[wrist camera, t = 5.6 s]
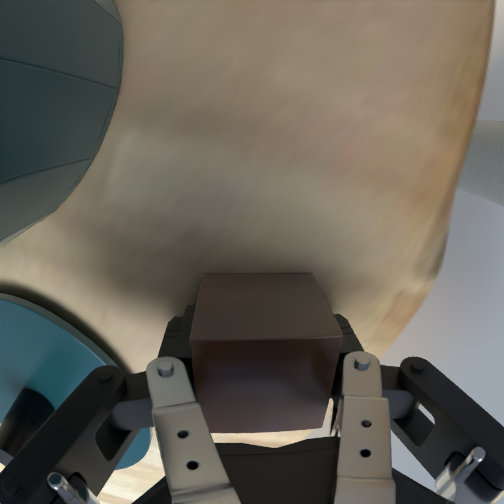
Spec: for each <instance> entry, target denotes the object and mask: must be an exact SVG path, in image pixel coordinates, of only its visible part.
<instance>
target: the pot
mask: <svg viewBox="0 0 504 504" xmlns="http://www.w3.org/2000/svg"><path fill="white" fill-rule="evenodd" d="M122 62H123V35H122V27H121V20H120V16H119V13H118V10H117V6H116V3H115V1H114V0H0V246H2V245H4V244H5V243H7V242H8V241H10V240H12V239H13V238H15V237H17V236H18V235H20V234H21V233H23V232H24V231H26V230H27V229H28V228H30V227H31V226H33V225H34V224H36V223H38V222H39V221H41V220H43V219H44V218H45V217H47V216H48V215H50V214H51V213H53V212H54V211H56V209H57V208H58V207H59V205H60V204H61V203H62V202H63V201H64V200H65V199H66V198H67V197H68V196H69V195H70V194H71V192H72V191H73V190H74V188H75V187H76V186H77V185H78V183H79V182H80V180H81V179H82V177H83V176H84V174H85V173H86V171H87V169H88V168H89V166H90V165H91V163H92V161H93V159H94V157H95V155H96V153H97V151H98V149H99V147H100V145H101V143H102V140H103V138H104V135H105V133H106V130H107V128H108V125H109V123H110V119H111V116H112V113H113V109H114V106H115V103H116V99H117V94H118V89H119V84H120V80H121V71H122Z"/></svg>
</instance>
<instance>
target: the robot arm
mask: <svg viewBox="0 0 504 504" xmlns="http://www.w3.org/2000/svg"><path fill="white" fill-rule="evenodd" d="M328 305H329V304H328ZM329 307H330V306H329ZM195 308H196V305H187V307H186V311H185V315H184V317H183V316H175V317H174V318H173V319H172V320H171V321H169V322H168V325H167V328H166V332H165V334H164V338H163V341H162V344H161V347H160V351H159V354H158V357H157V358H156V359H154V360H153V361H151V362H150V363H149V364H148V366H147V368H146V371H144V372H141V373H136V374H129V375H124V372H123V370H122V369H121V368H119V367H117V366H114V365H103V366H100V367H97V368H95V369H94V370H93V371H91V372H90V373H89V375H88V376H87V377H86V378H85V379H84V380H83V381H82V382H81V383H80V384H79V385H78V386H77V387H76V389H75V390H74V391H73V392H72V393H71V394H70V395H69V396H68V397H67V398H66V399H65V400H64V402H63V403H62V404H61V405H60V406H59V407H58V408H57V409H56V410H55V411H54V413H53V414H52V415H51V416H50V417H49V418H48V419H47V420H46V421H45V423H44V424H43V425H42V426H41V427H40V428H39V429H38V430H37V432H36V433H35V434H34V435H33V436H32V437H31V438H30V439H29V441H28V442H27V443H26V444H25V445H24V446H23V447H22V449H21V450H20V451H19V452H18V453H17V454H16V455H15V457H14V458H13V459H12V460H11V461H10V462H9V464H8V465H7V466H6V467H5V468H4V469H3V471H2V472H1V473H0V503H1V504H100V502H99V500H98V499H97V498H96V497H97V496H98V494H99V493H100V491H101V490H102V488H103V487H104V485H105V483H106V482H107V480H108V479H109V477H110V476H111V474H112V473H113V471H114V470H115V468H116V467H117V465H118V463H119V462H120V460H121V459H122V457H123V456H124V454H125V453H126V451H127V450H128V448H129V446H130V445H131V443H132V442H133V440H134V439H135V437H136V436H137V434H138V433H139V431H140V429H142V428H148V427H154V426H155V431H156V436H157V441H158V445H159V450H160V454H161V459H162V463H163V467H164V471H165V476H164V477H163V478H162V479H161V480H160V481H158V482H157V483H156V484H155V485H154V486H153V487H151V488H150V489H149V490H148V491H147V492H145V493H144V494H143V495H142V496H140V497H139V498H138V499H137V500H135V501H134V502H133V503H132V504H494V503H495V502H496V501H497V500H498V499H499V498H500V497H501V496H503V495H504V427H503V426H502V425H501V424H500V423H499V422H497V420H495V419H494V418H493V417H492V416H491V415H490V414H489V413H488V412H486V411H485V410H484V409H483V408H482V407H481V406H480V405H478V404H477V403H476V402H475V401H474V400H473V399H472V398H470V397H469V396H468V395H467V394H466V393H465V392H463V391H462V390H461V389H460V388H459V387H458V386H457V385H455V384H454V383H453V382H452V381H451V380H450V379H448V378H447V377H446V376H445V375H444V374H443V373H441V372H440V371H439V370H438V369H437V368H436V367H434V366H433V365H432V364H431V363H430V362H428V361H427V360H425V359H423V358H420V357H408V358H406V359H404V360H403V361H402V362H401V365H400V367H394V366H385V365H380V362H379V360H378V359H377V358H376V357H375V356H374V355H372V354H370V353H368V352H365V351H364V350H363V348H362V346H361V344H360V342H359V340H358V338H357V337H356V335H355V334H354V331H353V329H352V328H351V326H350V324H349V322H348V320H347V319H346V318H344V317H343V316H342V315H340V314H333V315H334V317H335V319H336V321H337V323H338V325H339V327H340V329H341V331H342V333H343V340H342V345H341V350H340V355H339V359H338V364H337V369H336V373H335V378H334V382H333V386H332V390H331V395H330V398H332V399H333V406H332V410H331V418H330V426H329V434H328V437H322V438H313V439H306V440H303V441H299V442H296V443H293V444H289V445H286V446H282V447H278V448H270V447H263V446H257V445H251V444H245V443H214V441H213V439H212V436H211V434H210V431H209V428H208V426H207V423H206V420H205V417H204V415H203V412H202V409H201V406H200V404H199V401H197V397H196V390H195V382H194V375H193V367H192V359H191V351H190V342H189V338H190V333H191V328H192V323H193V318H194V313H195ZM330 309H331V308H330ZM331 311H332V310H331ZM332 313H333V312H332ZM420 404H421V405H423V406H424V407H425V409H427V411H429V412H430V413H431V414H432V416H433V417H434V420H435V425H434V424H433V423H432V422H431V421H430V420H429V419H428V418H427V417H426V416H425V415H424V414H423V413H422V412H421V411H420V410H419V409H418V407H419V405H420ZM390 429H391V430H392V431H393V433H394V434H395V435H396V436H397V437H398V438H399V439H400V440H401V442H402V443H403V444H404V445H405V446H406V447H407V449H408V450H409V451H410V452H411V453H412V454H413V455H414V456H415V458H416V459H417V460H418V461H419V462H420V463H421V464H422V466H423V467H424V468H425V469H426V470H427V471H428V472H429V473H430V475H431V476H432V477H433V478H434V479H435V480H436V481H435V487H436V490H437V492H436V493H435V492H433V491H432V490H430V489H428V488H426V487H424V486H422V485H421V484H419V483H417V482H416V481H414V480H412V479H410V478H409V477H407V476H406V475H404V474H402V473H400V472H399V471H397V470H396V469H394V468H392V459H391V430H390Z"/></svg>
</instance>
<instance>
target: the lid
mask: <svg viewBox="0 0 504 504" xmlns="http://www.w3.org/2000/svg"><path fill="white" fill-rule="evenodd" d="M103 365H114V366H117V367H119V366H118V365H117V364H116V363H115V362H114V361H113V360H112V359H111V358H110V357H109V356H108V355H107V354H106V353H105V352H104V351H103V350H102V349H100V348H99V347H98V346H97V345H96V344H95V343H94V342H92V341H91V340H90V339H89V338H88V337H86V336H85V335H84V334H82V333H81V332H80V331H79V330H77V329H76V328H75V327H73V326H72V325H70V324H69V323H67V322H66V321H64V320H63V319H61V318H60V317H58V316H57V315H55V314H53V313H52V312H50V311H48V310H46V309H44V308H43V307H41V306H39V305H36V304H34V303H32V302H30V301H28V300H25V299H22V298H19V297H16V296H13V295H8V294H3V293H0V462H1V463H2V464H3V465H4V466H7V465H8V464H9V462H10V461H11V460H12V459H13V458H14V457H15V455H16V454H17V453H18V452H19V451H20V450H21V449H22V447H23V446H24V445H25V444H26V443H27V442H28V441H29V439H30V438H31V437H32V436H33V435H34V434H35V433H36V432H37V430H38V429H39V428H40V427H41V426H42V425H43V424H44V423H45V421H46V420H47V419H48V418H49V417H50V416H51V415H52V414H53V413H54V411H55V410H56V409H57V408H58V407H59V406H60V405H61V404H62V403H63V402H64V400H65V399H66V398H67V397H68V396H69V395H70V394H71V393H72V392H73V391H74V390H75V389H76V387H77V386H78V385H79V384H80V383H81V382H82V381H83V380H84V379H85V378H86V377H87V376H88V375H89V373H90V372H91V371H93V370H94V369H95V368H97V367H100V366H103ZM124 375H125V373H124ZM151 438H152V427H148V428H142V429H140V431H139V433H138V434H137V436H136V437H135V439H134V440H133V442H132V443H131V445H130V446H129V448H128V450H127V451H126V453H125V454H124V456H123V457H122V459H121V460H120V462H119V463H118V465H117V467H116V468H115V470H118V469H123V468H127V467H129V466H132V465H134V464H136V463H137V462H139V461H140V460H141V459H142V458H143V457H144V456H145V455H146V453H147V451H148V449H149V447H150V442H151Z"/></svg>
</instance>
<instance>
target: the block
mask: <svg viewBox="0 0 504 504" xmlns="http://www.w3.org/2000/svg"><path fill="white" fill-rule="evenodd" d="M342 340H343V333H342V331H341V329H340V327H339V325H338V323H337V321H336V319H335V317H334V315H333V313H332V311H331V309H330V307H329V305H328V303H327V301H326V299H325V297H324V295H323V293H322V291H321V289H320V287H319V285H318V284H317V282H316V280H315V278H314V276H313V274H312V273H274V274H203V275H202V280H201V284H200V289H199V294H198V299H197V303H196V308H195V313H194V318H193V323H192V328H191V333H190V338H189V342H190V351H191V359H192V367H193V375H194V382H195V390H196V397H197V401H199V404H200V406H201V409H202V412H203V415H204V417H205V420H206V423H207V426H208V428H209V431H210V433H261V432H280V431H294V430H306V429H316V428H321V427H322V426H323V422H324V418H325V414H326V411H327V407H328V403H329V399H330V395H331V390H332V386H333V382H334V378H335V373H336V369H337V364H338V359H339V355H340V350H341V345H342Z"/></svg>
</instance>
